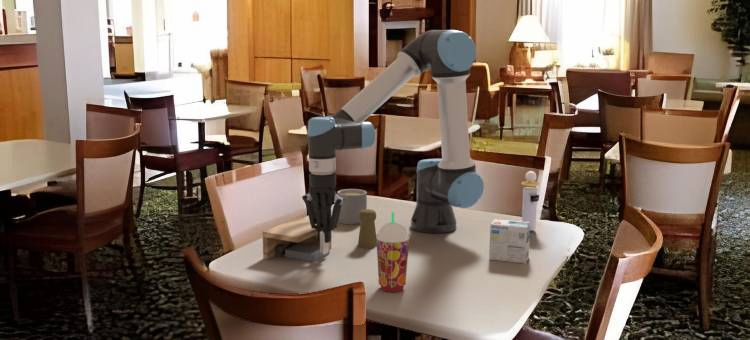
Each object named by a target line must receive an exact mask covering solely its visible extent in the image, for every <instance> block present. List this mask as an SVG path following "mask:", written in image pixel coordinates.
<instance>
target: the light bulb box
mask: <svg viewBox="0 0 750 340" xmlns="http://www.w3.org/2000/svg"><path fill="white" fill-rule="evenodd" d="M489 227H490V228H489V230H490V231H489V255H488V256H489V258H488V260H490V261H491V260H492V261H500V262H510V263H519V264H526V263H527V261H528V260H529V256H530V238H531V237H530V236H531V235H530V234H531V233H530V232H531V231H530V222H523V221H522V220H509V219H508V220H507V219H497V218H494V219H493V221H492V222H491V223H490V226H489Z"/></svg>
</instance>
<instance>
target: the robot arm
mask: <svg viewBox="0 0 750 340" xmlns="http://www.w3.org/2000/svg"><path fill="white" fill-rule="evenodd" d="M476 58H477V47H476V44H475V41H474V40H473V39H472V37H471V36H470V35H468V33H466V32H464V31H460V30H456V29H442V30H441V29H431V30H427V31H425V32H423V33H421V34H419V35H418V36H417V37H415V38H414V39H413V40H411V41H410V42H409V43H408V44H407V45H406V46H404V47H403V48H402V49H401V50H400V51H399V52H398V53H397V57H396V58H395V60H394V61H393V62H391V64H389V65H388V66H387V67H386V68H385V69H384V70H382V72H380V73H379V74H378V75H377V76H376V77H375V78H373V79H372V81H370V82H369V83H368V84H367V85H365V86H364V87H363V89H361V90H360V91H359V92H358V93H357V94H356V95H355V96H353V98H351V99H350V100H349V101H348V102H347V103H346V104H345V105H343V106H342V107H341V108H340V109H339V110H338V111H337V112H335V113H334V114H332V115H328V116H316V117H311V118H309V120H308V121H307V144H308V171H309V172H310V173H309V175H308V179H309V180H308V183H309V186H310V187H309V191H308V192H307V194H304V195H302V200H303V202H304V204H305V207H306V210H307V215H308V219H309V220H310V224H311V227H312V228H313V229H316V230H317V231H318V242H320V253H321V254H326V253H328V252H329V253H330V249H329V242H330V241H331V235H332V231H334V230H336V229H337V228H338V225H339V224H338V223H339V222H338V219H339V215H340V210H341V205H342V204H343V202H344V200H345V199H344V198H343V197H342V198H341V197H340V196H338V190H337V189H336V188H337V173H336V170H337V165H336V162H337V160H336V152H337V151H341V150H353V149H354V150H355V149H361V150H362V149H365V148H371V147H372V146H373V145H374V143H376V142H375V141H376V130H375V126H374V125H373V123H372V122H370V121H365V120H367V119H368V118H369V117H370V116H372V114H373V113H375V112H376V111H377V110H378V109H379V108H380V107H382V105H384V103H386V102H387V101H388V100H389V99H390V98H391V97H392V96H394V95H395V93H397V92H398V91H400V89H401V88H402V87H404V86H405V84H407V83H409V81H410V80H411V79H412V78H414V77H416V78H417V77H420V76H421V75H422V74H423V73H425V72H426V71H427V70H430V76H431V78H432V79H433V80H434V81H435V83H436V87H437V103H438V115H439V116H438V117H439V130H440V143H441V144H440V145H441V158H427V159H421V160H419V161H418V162H417V166H416V202H415V203H416V204H415V207H414V211H413V213H412V215H411V216H412V217H411V219H410V228H411V229H413V231H417V232H420V233H427V234H428V233H429V234H445V233H450V232H453V231H456V229H457V217H456V215H455V212H454V208H453V207H455V208H459V209H467V208H470V207H472V206H474V205H475V204H477V202H478V201H479V199H481V197H482V196H483V194H484V189H485V186H484V185H485V183H484V180H483V177H481V175H480V174H479V173H477V169H476V168H477V167H476V166H477V165H476V161H475V160H474V159H472V158H471V155H470V154H471V151H470V137H469V136H470V135H469V134H470V133H469V121H468V119H469V116H468V99H467V98H468V97H467V83H466V81H467V79H468V78H469V76H471V67H472V66H473V64H474V62H475V61H476ZM333 203H334V204H333Z"/></svg>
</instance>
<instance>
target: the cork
mask: <svg viewBox="0 0 750 340" xmlns="http://www.w3.org/2000/svg"><path fill="white" fill-rule="evenodd" d="M359 218H360V220H361V224H359V225H360V227H359V233H358V241H357V247H359V248H363V249H364V248H365V249H371V248H375V247H376V248H377V241H376V236H377V231H376V224H375V223H376V222H375V221H376V218H377V213H376V211H375V210H373V209H369V208H367V209H365V210H362V211H360V214H359Z"/></svg>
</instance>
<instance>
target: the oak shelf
mask: <svg viewBox="0 0 750 340" xmlns="http://www.w3.org/2000/svg"><path fill="white" fill-rule="evenodd" d="M332 235H333V234H331V241H330V242H329V250H330V249H332V247H333V246H332V242H333V241H332V238H333V237H332ZM298 243H306V244H312V245H318V246H320V242H318V231H317V230H316V229H313V228H312V227H311V224H310V220H309V218H304V217H299V216H298V217H296V218H293V219H289V220H287V221H285V222H283V223H280V224H278V225H276V226H273V227H271V228H268V229H266V230H264V231H262V259H264V260H269V259H271V258H274V257H283V256H284V257H285V250H286V249H288V248H290V247H292V246H294V245H296V244H298Z"/></svg>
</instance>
